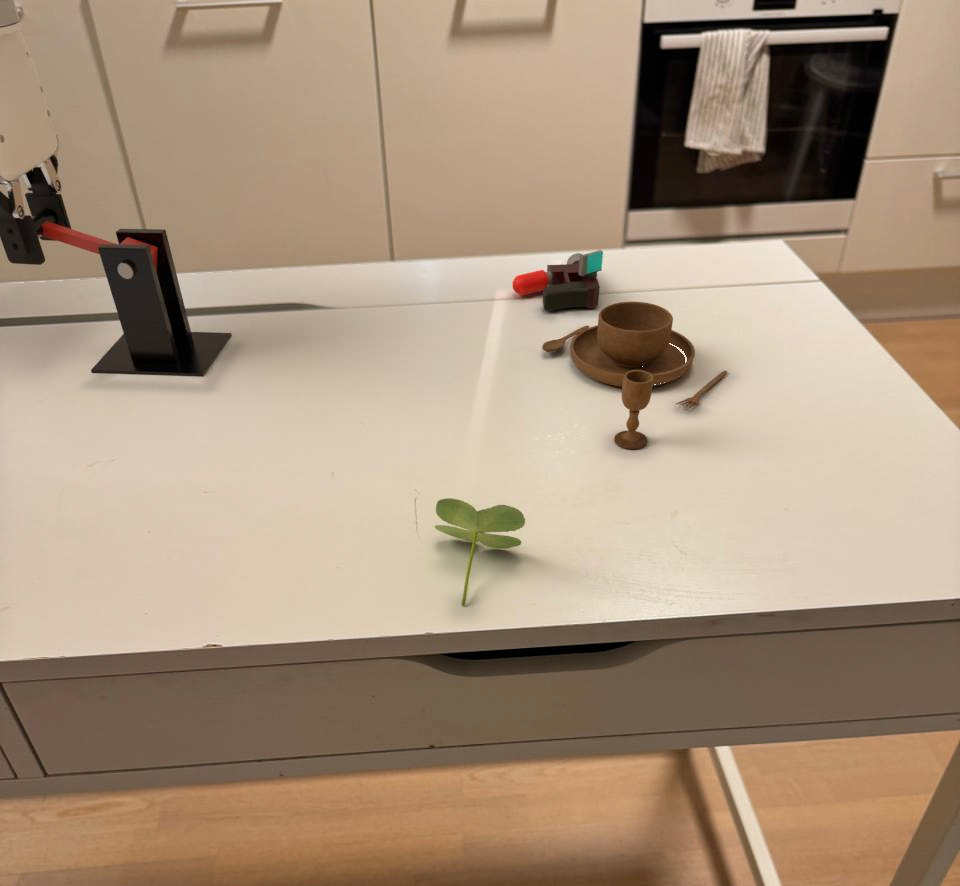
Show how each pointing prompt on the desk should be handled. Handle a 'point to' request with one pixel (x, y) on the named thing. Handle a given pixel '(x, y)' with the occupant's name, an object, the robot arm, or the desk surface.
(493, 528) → the green clover sprout
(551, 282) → the toy gun
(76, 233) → the lever
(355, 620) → the desk surface
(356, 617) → the desk surface
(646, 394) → the place setting
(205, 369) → the bracket
